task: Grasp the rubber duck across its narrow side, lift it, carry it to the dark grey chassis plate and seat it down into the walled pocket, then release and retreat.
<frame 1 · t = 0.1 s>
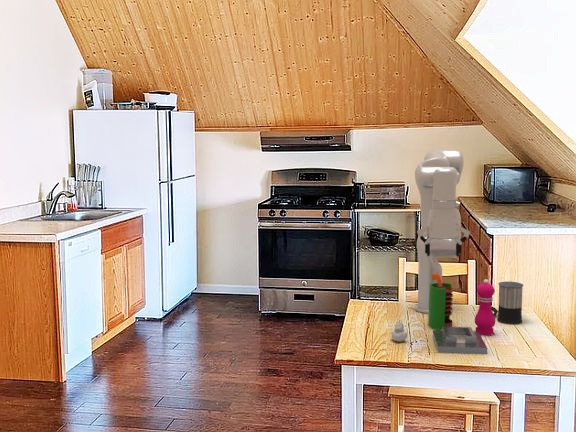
hand: (442, 255, 214), 31 cm above the table, fingers open, 9 cm apart
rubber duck: (399, 341, 222), on the table
milk frother: (499, 319, 248), on the table
chassis plate: (458, 344, 218), on the table
motor: (440, 326, 239), on the table
pepper mill: (484, 333, 230), on the table
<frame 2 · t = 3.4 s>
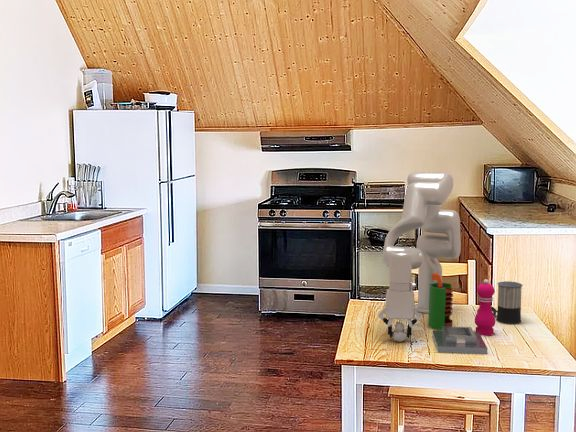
hand: (399, 336, 222), 2 cm above the table, fingers closed on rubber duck, 5 cm apart
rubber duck: (399, 341, 222), on the table, touching gripper
everything else where it was.
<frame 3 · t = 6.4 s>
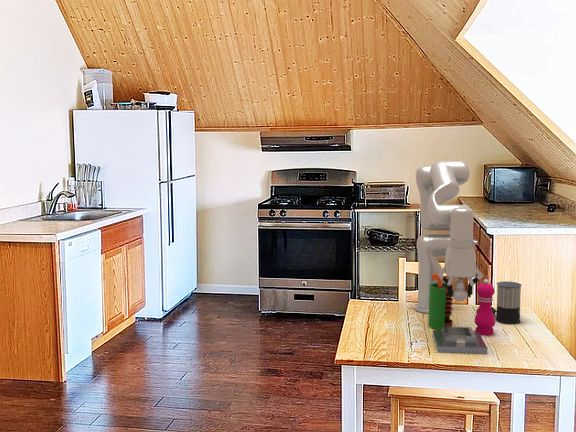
hand: (459, 295, 216), 17 cm above the table, fingers closed on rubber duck, 5 cm apart
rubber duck: (459, 300, 216), point 15 cm above the table, touching gripper
everything else where it was.
when the fingers open (5 cm above the table, at t = 9.4 s): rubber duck drops 1 cm, resting on chassis plate.
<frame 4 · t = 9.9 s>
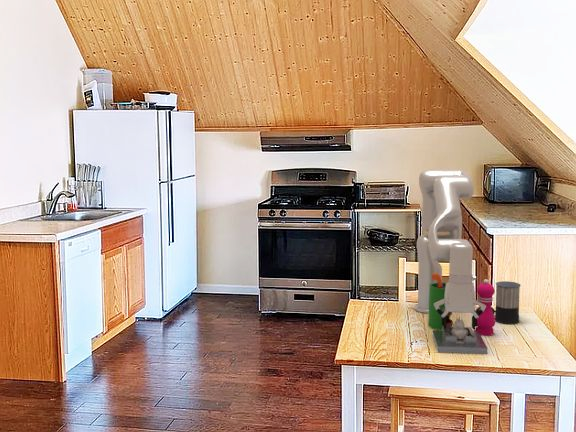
hand: (459, 328, 217), 6 cm above the table, fingers open, 9 cm apart
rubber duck: (459, 339, 217), point 2 cm above the table, touching chassis plate
everything else where it was.
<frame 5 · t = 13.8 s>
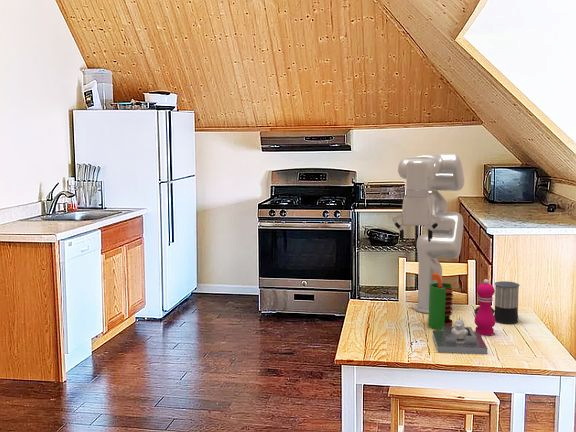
hand: (415, 240, 231), 33 cm above the table, fingers open, 9 cm apart
at the end: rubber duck 0.2 cm off-centre on the chassis plate, point 1.9 cm above the chassis plate's base; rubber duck tilted 0°; the gripper is holding nothing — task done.
